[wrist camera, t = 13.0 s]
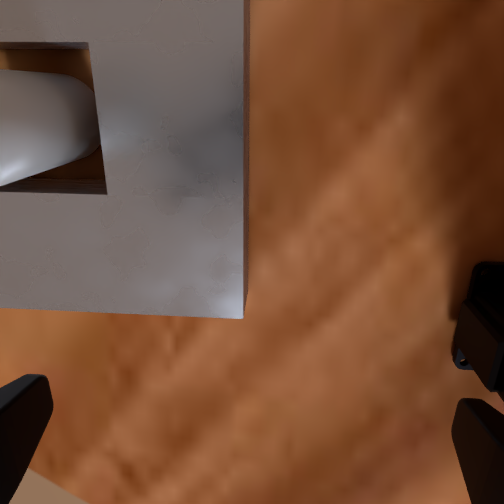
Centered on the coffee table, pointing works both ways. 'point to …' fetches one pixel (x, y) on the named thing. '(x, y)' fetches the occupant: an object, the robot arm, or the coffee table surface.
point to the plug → (44, 122)
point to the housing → (140, 164)
